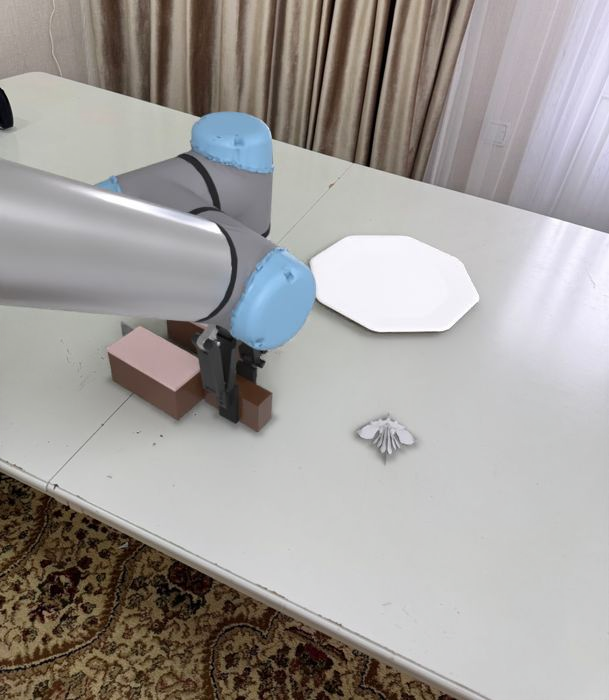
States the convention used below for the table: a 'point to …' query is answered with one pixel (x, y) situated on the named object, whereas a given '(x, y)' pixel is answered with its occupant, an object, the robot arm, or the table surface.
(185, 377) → the cake slice
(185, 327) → the cake
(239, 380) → the cake knife
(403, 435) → the flower
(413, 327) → the plate
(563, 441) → the table surface
